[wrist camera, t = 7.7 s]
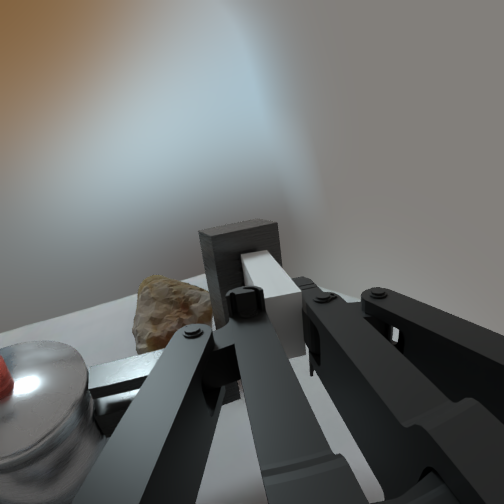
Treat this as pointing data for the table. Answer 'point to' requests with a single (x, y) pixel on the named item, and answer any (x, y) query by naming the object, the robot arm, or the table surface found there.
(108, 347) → the table surface
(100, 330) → the table surface
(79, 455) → the pot
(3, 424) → the lid
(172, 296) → the mineral
